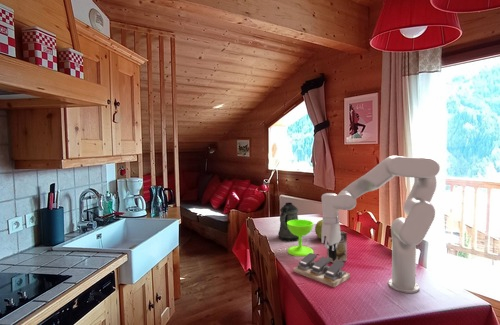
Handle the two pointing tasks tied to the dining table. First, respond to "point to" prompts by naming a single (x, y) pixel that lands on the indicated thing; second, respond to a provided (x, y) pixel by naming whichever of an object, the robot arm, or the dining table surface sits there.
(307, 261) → the plate
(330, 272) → the rocker near
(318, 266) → the rocker middle
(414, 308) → the dining table surface
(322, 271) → the switch board
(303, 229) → the wineglass
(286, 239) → the beer stein
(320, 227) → the fruit
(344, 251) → the coffee box
